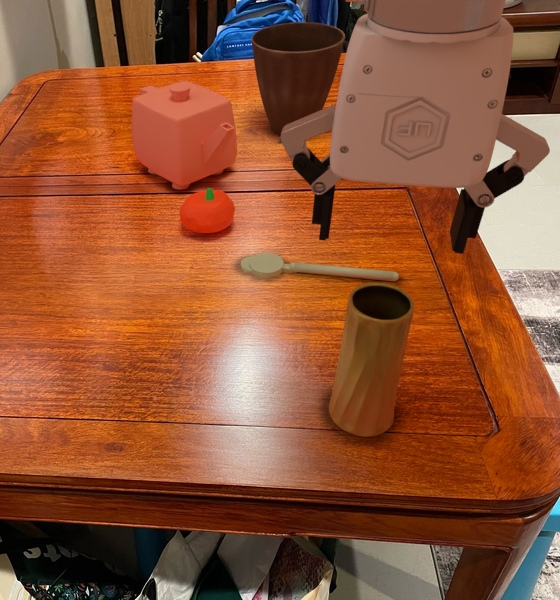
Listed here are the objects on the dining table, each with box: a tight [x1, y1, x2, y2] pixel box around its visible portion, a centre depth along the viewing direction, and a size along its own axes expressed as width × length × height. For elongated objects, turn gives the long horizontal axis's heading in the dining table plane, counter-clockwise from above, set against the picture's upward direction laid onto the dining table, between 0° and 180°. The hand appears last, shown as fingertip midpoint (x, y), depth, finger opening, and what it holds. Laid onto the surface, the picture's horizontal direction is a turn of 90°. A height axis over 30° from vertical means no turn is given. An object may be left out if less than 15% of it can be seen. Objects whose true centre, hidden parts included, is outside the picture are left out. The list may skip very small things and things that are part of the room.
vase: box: [328, 282, 415, 438], centre depth 56 cm, size 6×6×14 cm
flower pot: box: [251, 21, 346, 136], centre depth 106 cm, size 15×15×16 cm
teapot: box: [131, 80, 238, 190], centre depth 97 cm, size 22×13×14 cm, turn 35°
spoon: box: [240, 252, 400, 282], centre depth 78 cm, size 19×4×1 cm, turn 74°
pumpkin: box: [179, 187, 236, 234], centre depth 86 cm, size 7×8×6 cm
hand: (388, 236), depth 48 cm, fingers open, 9 cm apart
